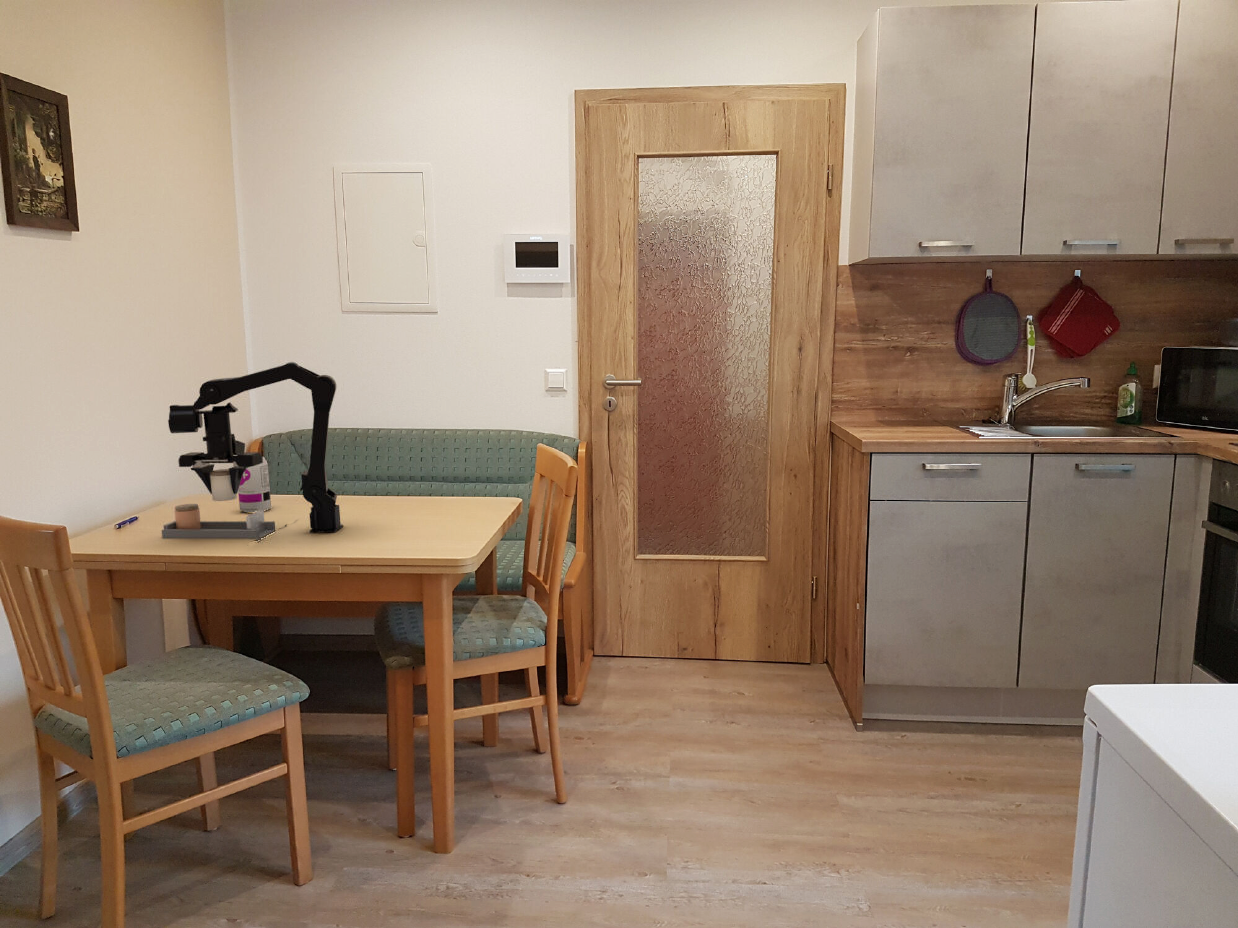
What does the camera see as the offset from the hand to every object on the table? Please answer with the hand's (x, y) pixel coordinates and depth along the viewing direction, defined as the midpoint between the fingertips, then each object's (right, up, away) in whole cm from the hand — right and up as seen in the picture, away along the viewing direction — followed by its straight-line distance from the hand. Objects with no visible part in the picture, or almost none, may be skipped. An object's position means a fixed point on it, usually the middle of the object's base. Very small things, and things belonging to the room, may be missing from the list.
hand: (224, 493), depth 210 cm
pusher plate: (+8, -10, +1) cm, 12 cm away
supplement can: (-6, -6, +32) cm, 33 cm away
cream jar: (0, -1, 0) cm, 1 cm away
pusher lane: (-2, -11, +2) cm, 11 cm away
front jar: (-10, -10, +2) cm, 14 cm away
